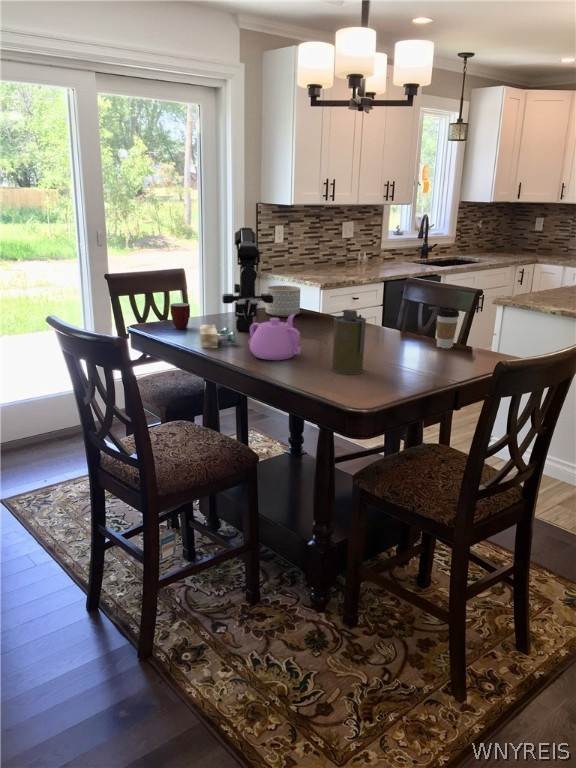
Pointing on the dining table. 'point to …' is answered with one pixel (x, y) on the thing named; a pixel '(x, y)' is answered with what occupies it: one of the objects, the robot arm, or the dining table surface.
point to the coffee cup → (446, 326)
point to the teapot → (274, 339)
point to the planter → (283, 301)
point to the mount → (208, 336)
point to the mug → (180, 314)
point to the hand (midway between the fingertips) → (247, 320)
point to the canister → (348, 343)
